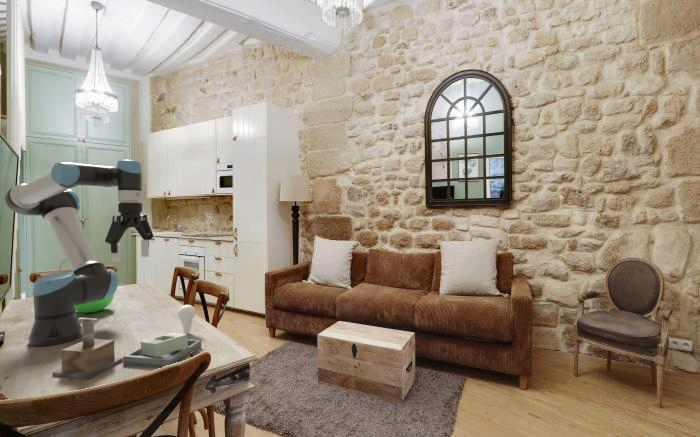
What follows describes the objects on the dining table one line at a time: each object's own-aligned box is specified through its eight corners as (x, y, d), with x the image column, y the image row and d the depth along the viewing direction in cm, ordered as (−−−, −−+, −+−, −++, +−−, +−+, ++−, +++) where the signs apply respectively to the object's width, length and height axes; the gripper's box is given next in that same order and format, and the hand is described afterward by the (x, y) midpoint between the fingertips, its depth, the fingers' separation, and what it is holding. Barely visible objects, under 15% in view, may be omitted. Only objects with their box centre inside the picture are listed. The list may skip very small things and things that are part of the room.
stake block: (52, 375, 102) (50, 324, 101) (90, 357, 113) (88, 311, 113) (88, 379, 100) (86, 326, 99) (122, 360, 111) (121, 313, 111)
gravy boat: (122, 307, 170) (121, 276, 169) (93, 318, 153) (92, 284, 153) (87, 306, 172) (86, 275, 171) (55, 316, 155) (54, 283, 154)
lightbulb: (176, 337, 131) (176, 307, 131) (179, 331, 137) (179, 303, 137) (194, 335, 133) (194, 306, 132) (197, 330, 139) (196, 302, 138)
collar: (188, 346, 116) (186, 334, 116) (156, 357, 108) (155, 344, 108) (172, 344, 122) (171, 332, 122) (141, 354, 114) (140, 341, 114)
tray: (123, 364, 109) (123, 356, 109) (159, 344, 125) (159, 337, 125) (169, 368, 106) (169, 360, 106) (201, 347, 122) (201, 340, 122)
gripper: (110, 201, 119) (112, 264, 119) (162, 202, 143) (163, 254, 144) (91, 201, 120) (93, 264, 121) (146, 202, 144) (147, 254, 145)
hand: (131, 259), depth 132 cm, fingers open, 13 cm apart
